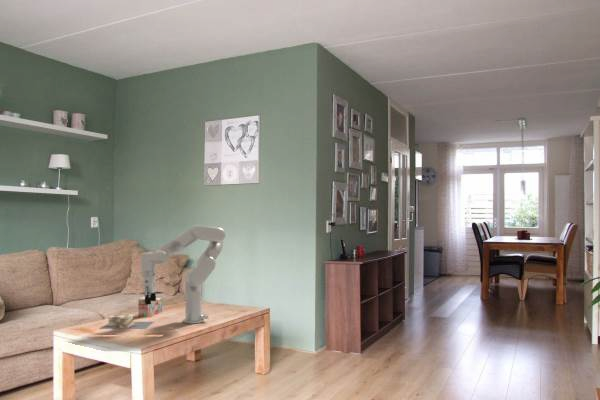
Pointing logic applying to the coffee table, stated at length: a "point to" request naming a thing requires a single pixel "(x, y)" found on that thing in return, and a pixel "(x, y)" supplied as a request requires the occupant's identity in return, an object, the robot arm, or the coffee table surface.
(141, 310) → the stack of blocks
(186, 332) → the coffee table surface
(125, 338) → the coffee table surface
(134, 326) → the board
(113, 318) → the T block
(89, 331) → the coffee table surface
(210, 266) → the robot arm
